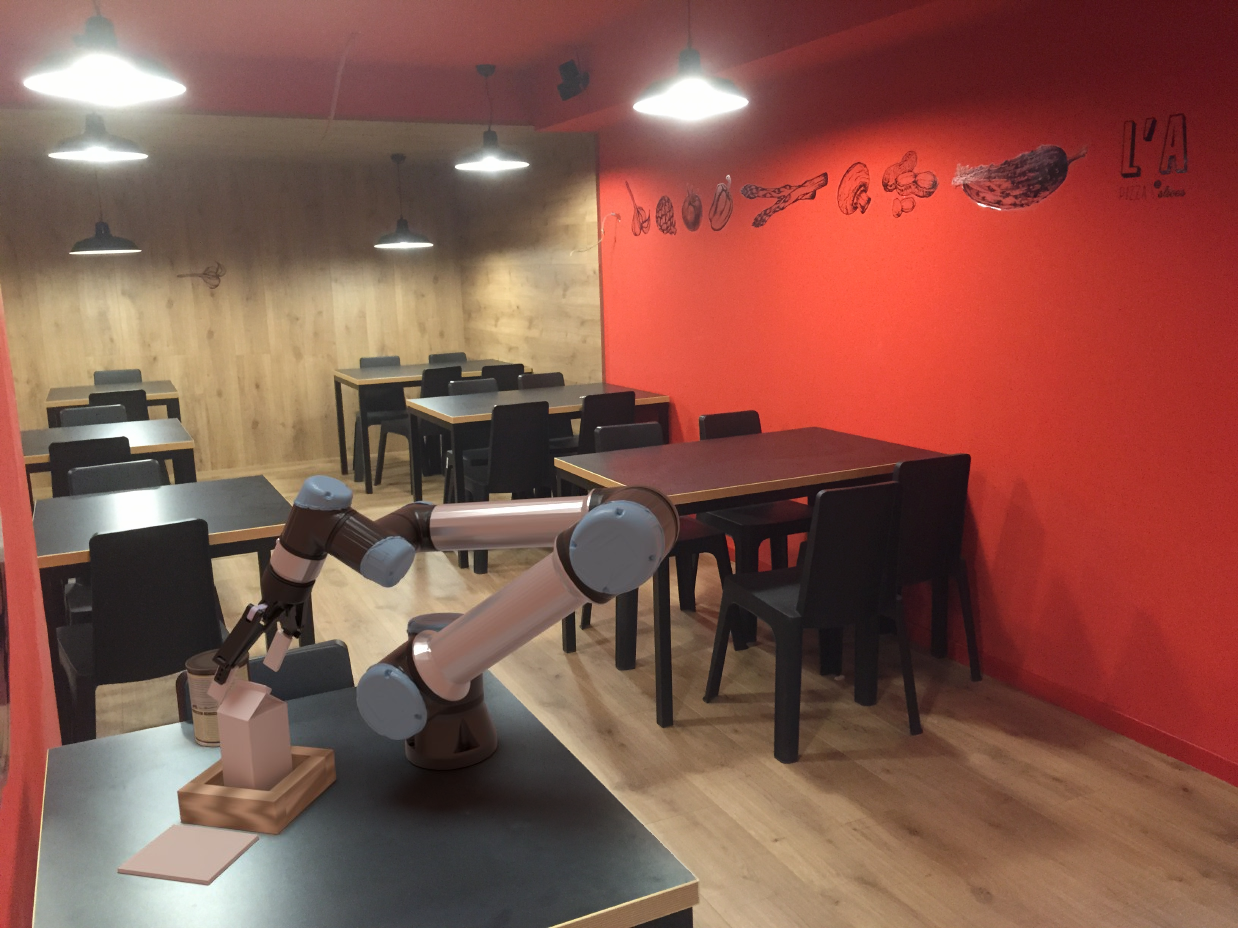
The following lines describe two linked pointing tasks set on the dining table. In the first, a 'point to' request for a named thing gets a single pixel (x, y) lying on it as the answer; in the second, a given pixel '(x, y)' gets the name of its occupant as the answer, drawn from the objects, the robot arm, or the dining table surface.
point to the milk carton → (254, 737)
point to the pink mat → (189, 854)
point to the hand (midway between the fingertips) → (244, 681)
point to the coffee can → (202, 703)
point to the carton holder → (257, 795)
